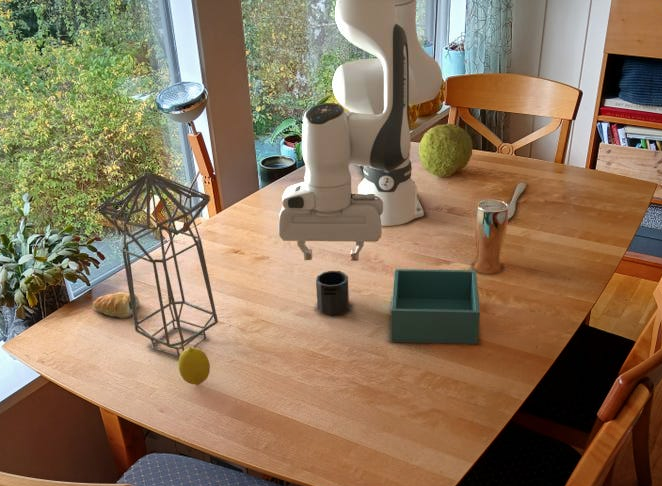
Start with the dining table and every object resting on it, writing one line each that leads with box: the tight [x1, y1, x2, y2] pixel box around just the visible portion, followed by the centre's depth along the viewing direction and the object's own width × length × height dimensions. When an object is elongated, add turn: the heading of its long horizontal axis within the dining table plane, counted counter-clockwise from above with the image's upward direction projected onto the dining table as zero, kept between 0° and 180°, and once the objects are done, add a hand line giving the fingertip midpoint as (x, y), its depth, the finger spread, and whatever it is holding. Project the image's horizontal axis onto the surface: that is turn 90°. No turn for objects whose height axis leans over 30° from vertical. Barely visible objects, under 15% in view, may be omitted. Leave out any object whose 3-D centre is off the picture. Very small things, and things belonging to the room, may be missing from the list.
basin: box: [390, 268, 481, 345], centre depth 148 cm, size 17×17×7 cm
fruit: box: [418, 123, 474, 178], centre depth 212 cm, size 16×14×15 cm
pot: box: [315, 270, 350, 316], centre depth 154 cm, size 9×6×7 cm
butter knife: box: [508, 182, 527, 220], centre depth 196 cm, size 1×27×3 cm
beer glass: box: [473, 198, 509, 275], centre depth 163 cm, size 7×7×15 cm
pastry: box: [92, 291, 140, 319], centre depth 158 cm, size 9×7×4 cm
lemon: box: [177, 346, 211, 386], centre depth 133 cm, size 6×6×8 cm
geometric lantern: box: [93, 172, 219, 358], centre depth 137 cm, size 16×16×35 cm
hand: (331, 259), depth 149 cm, fingers open, 8 cm apart
